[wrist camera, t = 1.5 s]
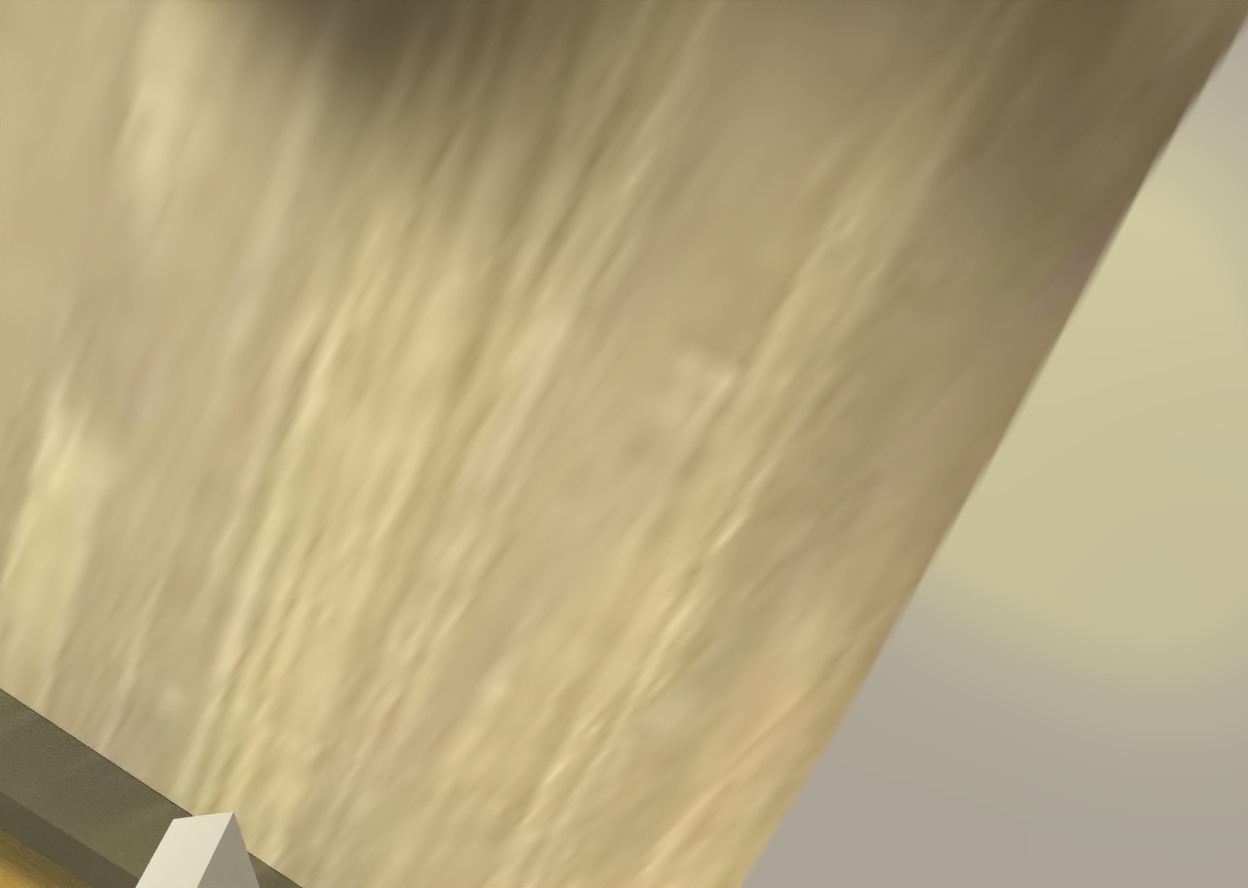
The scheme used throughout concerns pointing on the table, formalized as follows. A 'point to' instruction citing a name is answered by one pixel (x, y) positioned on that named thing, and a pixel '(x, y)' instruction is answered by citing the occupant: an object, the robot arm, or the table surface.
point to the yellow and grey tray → (76, 812)
